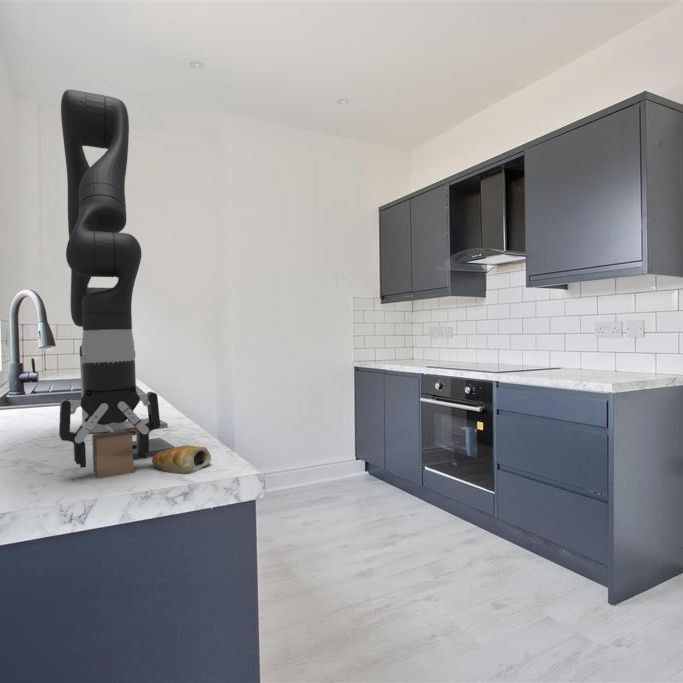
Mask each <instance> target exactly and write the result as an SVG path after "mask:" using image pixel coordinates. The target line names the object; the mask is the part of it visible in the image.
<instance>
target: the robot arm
mask: <svg viewBox="0 0 683 683" xmlns="http://www.w3.org/2000/svg"><path fill="white" fill-rule="evenodd" d="M60 118H61V119H60V121H61V129H62V138H63V148H64V156H65V167H66V178H67V179H66V180H67V223H68V224H67V225H68V226H67V227H68V228H67V229H68V242H67V244H66V251H65V258H66V262H67V265H68V267H69V269H70V271H71V272H70V315H71V319H72V322H73V324H74V325H75V326H77V327H79V328H80V327H81V328H82V340H81V345H80V346H79V363H80V364H79V366H80V367H79V368H80V390H81V392H80V394H81V398H80V399H73V400H69V399H67V398H66V399H64V398H63V399H62V400H61V401H60V403H59V426H58V427H59V430H58V431H59V432H58V435H59V438H60V440H62V441H63V442H66V441H67V442H71V443H73V459H74V462H75V463H76V465H79V468H86V467H87V460H86V459H87V457H86V456H87V455H86V454H87V453H86V452H87V451H86V442H85V439H86V438H87V436H88V435H89V434H90V433H92V434H98V433H108V432H110V431H109V430H108V429H107V428H106V426H105V425H107V424H110V423H123V422H124V421H129V422H130V423H131V424H132V425H133V426H134V427H135V428H136V429H137V430H138V431H139V433H138V434H137V446H138V457H140V458H139V459H143V458H144V457H145V454H146V453H148V451H149V439H150V433H151V432H152V431H154V430H159V429H158V428H159V427H160V420H161V419H160V409H159V398H158V394H157V393H155V392H153V391H148V392H147V393H142V394H139V393H138V392H137V380H136V349H135V340H134V333H133V319H132V316H133V315H132V301H133V300H132V299H133V294H134V293H133V292H134V287H135V282H136V279H137V275H138V272H139V269H140V265H141V261H142V248H141V247H142V246H141V245H140V242H139V241H138V240H137V238H136V237H135V236H134V235H133V234H130V233H126V232H122V230H124V229H125V227H126V225H127V206H126V205H127V204H126V193H125V190H126V189H125V187H126V186H125V185H126V176H127V167H128V166H127V165H128V154H129V153H128V152H129V138H130V137H129V136H130V124H129V123H130V121H129V113H128V109H127V106H126V104H125V103H124V102H123V100H121V99H119V98H117V97H114V96H109V95H104V94H99V93H94V92H93V93H92V92H87V91H82V90H77V89H66V90H65V91H64V92H63V94H62V96H61V102H60ZM83 147H91V148H98V149H104V150H106V151H105V152H104V153H103V155H101V157H100V158H99V159H98V160H96V161H95V162H94V163H93V164H92V165H91V166H90V165H89V162H88V160H87V158H86V155H85V152H84V148H83ZM95 277H96V278H117V279H118V280H117V282H116V283H115V285H114V286H113V287H94V286H93V287H89V283H90V282H91V279H92V278H95ZM140 401H141V402H142V405H144V406H145V407H147V416H148V417H147V418H149V422H148V423H146V424H144V423H143V422H142V421H141V420H140V419H141V418H140V417H139V416H138V415H137V414H136V413H135V412H134V410H135V409H136V408H137V406H138V404H139V403H140ZM80 407H81V424H80V426H79V427H78V428H77V430H76V431H75V432H72V431H71V416H72V415H74V414H76V412H77V409H78V408H80ZM145 458H146V457H145Z"/></svg>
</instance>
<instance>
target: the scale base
mask: <svg viewBox="0 0 683 683" xmlns="http://www.w3.org/2000/svg"><path fill="white" fill-rule="evenodd" d="M144 424H146V423H144ZM136 430H137V429H136ZM138 433H139V432H137V433H136V435H135V437H136V438H135V439H136V440H135V441H133V440H132V446H133V460H138V459H141V458H140V457H138V446H137V434H138ZM175 447H176V446H174V445H173V444H171V443H169V442H168V441H166V439H164V438H161V437H155V438H149V451H148V453H146V454H145V457H144V458H150V457H151V458H152V457H153V456H154V455H155V454H157V453H158V452H160V451H165V450H167V449H172V448H175Z"/></svg>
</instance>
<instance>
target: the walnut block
mask: <svg viewBox="0 0 683 683" xmlns="http://www.w3.org/2000/svg"><path fill="white" fill-rule="evenodd" d="M91 439H92V469H93V471H92V472H93V474H94V475H95V477H96V478H97V479H98V480H100V479H105V478H112V477H116V476H117V477H118V476H121V475H122V476H123V475H128V474H134V459H133V446H132V442H133V435H132V434H130V433H129V432H128V431H126V430H124V431H116V432H110V431H108V432H99V433H92V435H91Z"/></svg>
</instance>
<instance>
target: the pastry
mask: <svg viewBox="0 0 683 683" xmlns="http://www.w3.org/2000/svg"><path fill="white" fill-rule="evenodd" d="M174 447H175V448H172V449H167V450H165V451H160V452H158V453H157V454H155V455H154V456H152V457H151V463H152V464H153V466H154V467H155V468H156V469H159V470H160V471H162V472H169V473H175V474H191V473H195V472H197V471H200V470H201V469H202V468H205V467H207V466H208V465H209V464H211V461H212V455H211V453H210V450H209V449H207V447H206V446H195V445H187V444H185V445H181V446H174Z"/></svg>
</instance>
